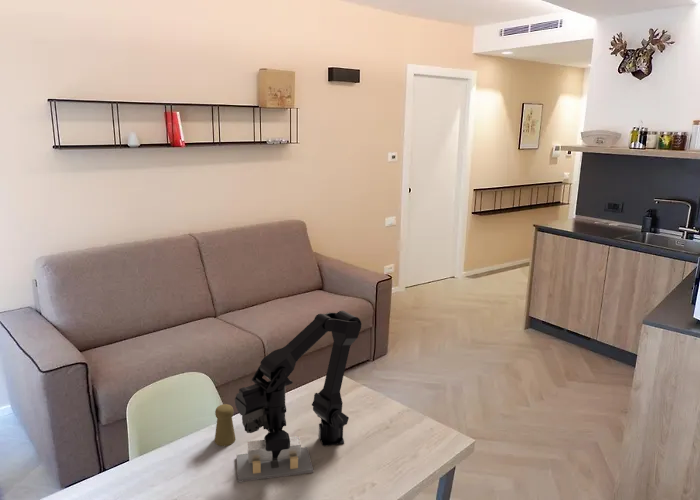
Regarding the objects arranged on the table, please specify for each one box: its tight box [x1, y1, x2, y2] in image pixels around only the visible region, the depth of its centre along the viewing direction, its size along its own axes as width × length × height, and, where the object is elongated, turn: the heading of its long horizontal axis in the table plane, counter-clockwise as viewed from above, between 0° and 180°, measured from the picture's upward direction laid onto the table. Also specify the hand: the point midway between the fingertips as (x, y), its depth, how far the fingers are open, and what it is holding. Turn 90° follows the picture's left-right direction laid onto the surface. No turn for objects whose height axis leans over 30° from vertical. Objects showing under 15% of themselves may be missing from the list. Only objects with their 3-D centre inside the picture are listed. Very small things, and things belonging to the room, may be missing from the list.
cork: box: [214, 403, 236, 447], centre depth 154 cm, size 6×6×11 cm
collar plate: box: [236, 446, 314, 483], centre depth 145 cm, size 20×10×4 cm, turn 104°
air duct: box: [247, 435, 302, 463], centre depth 144 cm, size 14×4×4 cm, turn 104°
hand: (274, 452), depth 145 cm, fingers closed on air duct, 4 cm apart
